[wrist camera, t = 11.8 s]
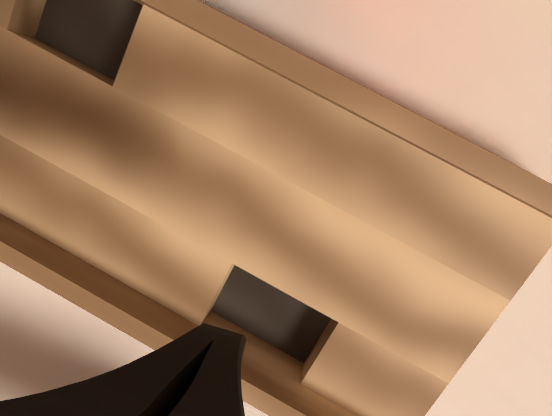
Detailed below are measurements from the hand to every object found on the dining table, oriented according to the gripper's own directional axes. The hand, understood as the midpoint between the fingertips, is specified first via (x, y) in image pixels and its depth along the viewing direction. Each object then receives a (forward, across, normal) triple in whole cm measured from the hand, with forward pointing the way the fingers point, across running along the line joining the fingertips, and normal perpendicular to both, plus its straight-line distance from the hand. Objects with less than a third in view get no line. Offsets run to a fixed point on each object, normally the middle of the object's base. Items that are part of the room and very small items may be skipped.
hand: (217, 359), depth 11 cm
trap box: (+10, +6, -3) cm, 12 cm away
